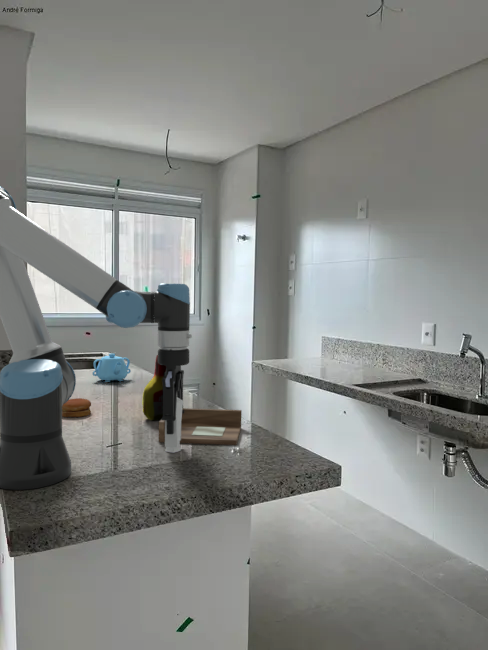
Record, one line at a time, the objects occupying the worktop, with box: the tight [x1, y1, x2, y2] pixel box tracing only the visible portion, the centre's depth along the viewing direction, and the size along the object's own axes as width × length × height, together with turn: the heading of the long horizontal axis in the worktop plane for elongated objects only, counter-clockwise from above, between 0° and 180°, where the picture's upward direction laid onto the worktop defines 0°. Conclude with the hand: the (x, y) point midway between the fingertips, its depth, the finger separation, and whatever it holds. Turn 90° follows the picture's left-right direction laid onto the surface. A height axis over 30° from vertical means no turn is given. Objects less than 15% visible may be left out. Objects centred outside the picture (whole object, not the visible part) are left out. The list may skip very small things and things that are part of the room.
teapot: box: [92, 353, 131, 383], centre depth 212 cm, size 20×17×12 cm
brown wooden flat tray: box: [158, 407, 242, 446], centre depth 133 cm, size 16×20×5 cm
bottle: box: [141, 354, 166, 421], centre depth 150 cm, size 12×6×20 cm, turn 119°
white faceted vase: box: [164, 397, 184, 453], centre depth 119 cm, size 5×4×15 cm
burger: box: [62, 397, 92, 418], centre depth 154 cm, size 10×9×5 cm
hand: (173, 443), depth 120 cm, fingers closed on white faceted vase, 5 cm apart
